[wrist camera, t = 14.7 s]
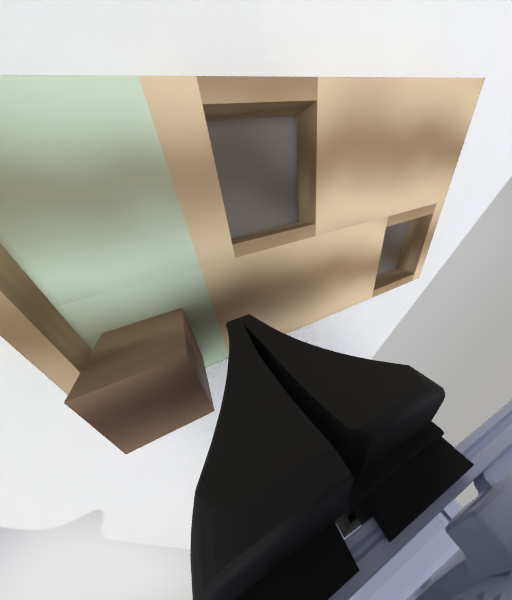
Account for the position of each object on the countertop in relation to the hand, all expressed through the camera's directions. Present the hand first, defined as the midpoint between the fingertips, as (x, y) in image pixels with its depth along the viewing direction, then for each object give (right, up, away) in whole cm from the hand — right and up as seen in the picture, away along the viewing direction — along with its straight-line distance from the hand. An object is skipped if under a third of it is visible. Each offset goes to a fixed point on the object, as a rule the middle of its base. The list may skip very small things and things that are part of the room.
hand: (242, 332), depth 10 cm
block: (-5, -1, +1) cm, 5 cm away
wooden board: (+3, +6, +3) cm, 8 cm away
